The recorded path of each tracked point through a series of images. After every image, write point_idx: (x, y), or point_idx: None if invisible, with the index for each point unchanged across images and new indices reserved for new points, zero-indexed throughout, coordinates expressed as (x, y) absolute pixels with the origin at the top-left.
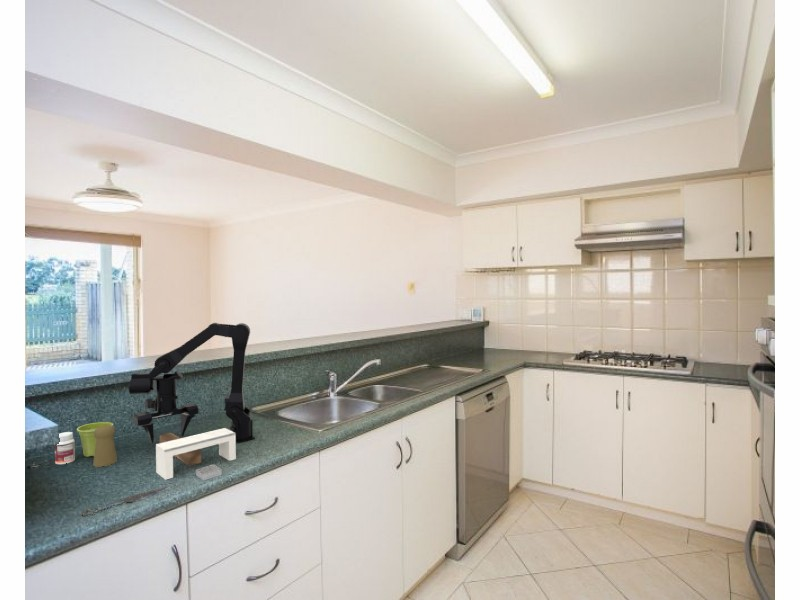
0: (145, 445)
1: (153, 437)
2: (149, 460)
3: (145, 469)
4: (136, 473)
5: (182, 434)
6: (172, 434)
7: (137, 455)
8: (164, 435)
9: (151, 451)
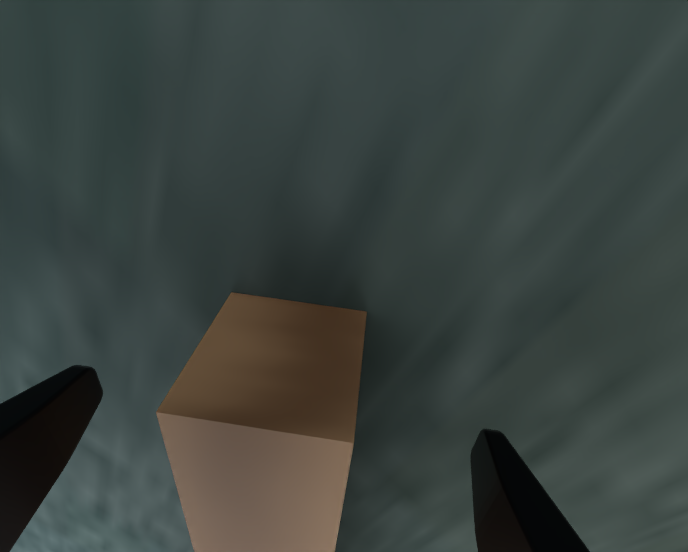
0: (73, 109)
1: (41, 498)
2: (98, 482)
3: (73, 540)
4: (32, 541)
5: (476, 491)
6: (322, 514)
7: (5, 355)
8: (217, 475)
9: (127, 363)
